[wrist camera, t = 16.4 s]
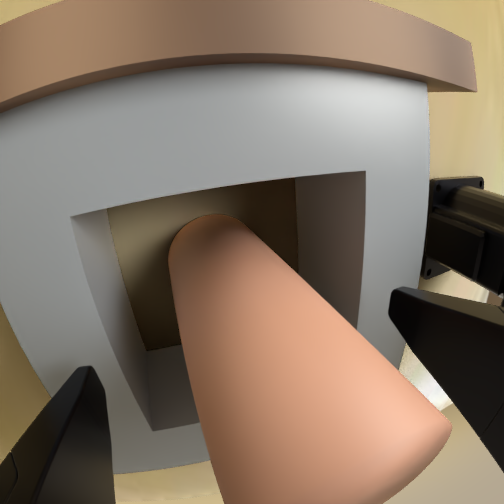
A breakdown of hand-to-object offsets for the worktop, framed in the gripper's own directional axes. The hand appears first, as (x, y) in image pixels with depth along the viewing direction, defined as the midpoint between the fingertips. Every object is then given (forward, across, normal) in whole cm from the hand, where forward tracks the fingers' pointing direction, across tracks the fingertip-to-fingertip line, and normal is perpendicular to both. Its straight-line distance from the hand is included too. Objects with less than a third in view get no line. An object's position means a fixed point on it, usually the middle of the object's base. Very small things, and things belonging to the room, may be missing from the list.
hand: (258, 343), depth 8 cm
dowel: (+6, 0, 0) cm, 6 cm away
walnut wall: (+6, 0, -8) cm, 10 cm away
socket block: (+6, 0, 0) cm, 6 cm away
